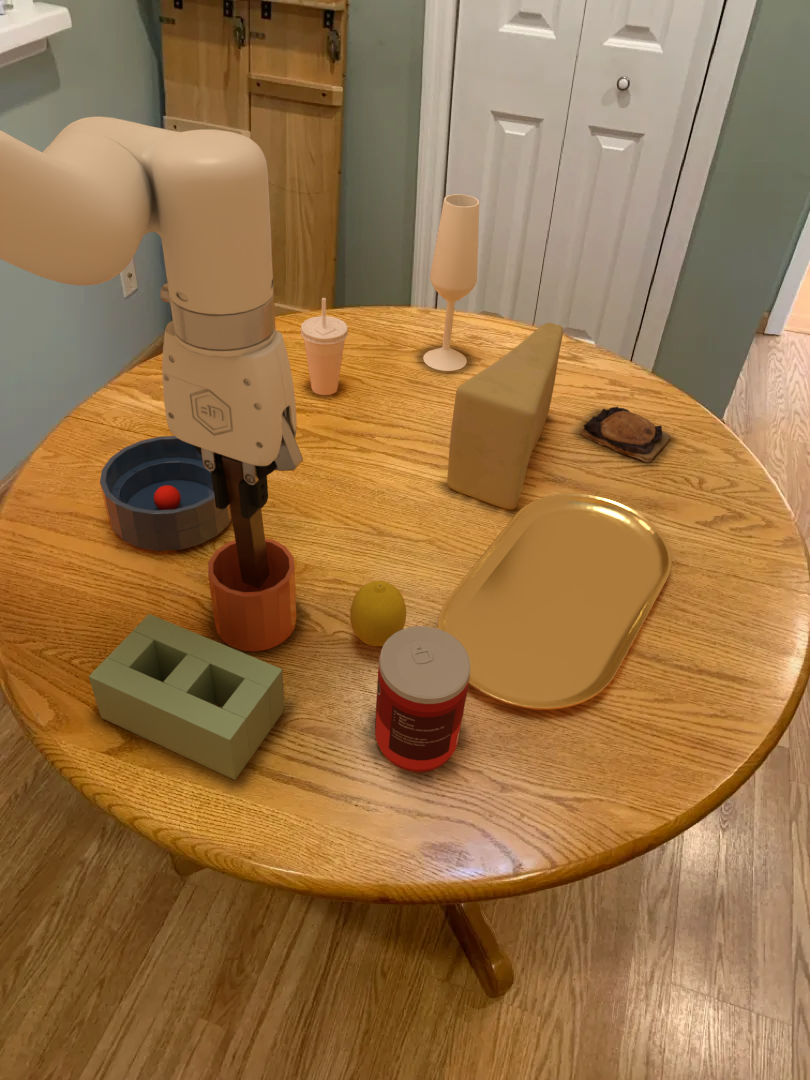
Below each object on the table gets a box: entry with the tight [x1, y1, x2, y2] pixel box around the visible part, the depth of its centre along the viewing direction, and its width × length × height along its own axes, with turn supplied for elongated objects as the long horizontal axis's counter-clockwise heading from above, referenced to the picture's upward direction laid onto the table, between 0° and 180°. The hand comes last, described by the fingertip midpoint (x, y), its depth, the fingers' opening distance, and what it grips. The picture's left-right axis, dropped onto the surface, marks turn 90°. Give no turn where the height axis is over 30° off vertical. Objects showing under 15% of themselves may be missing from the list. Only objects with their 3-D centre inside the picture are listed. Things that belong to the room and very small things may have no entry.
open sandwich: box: [579, 406, 671, 464], centre depth 115 cm, size 11×8×4 cm
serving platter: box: [437, 493, 673, 711], centre depth 92 cm, size 19×35×2 cm, turn 149°
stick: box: [222, 455, 270, 589], centre depth 77 cm, size 2×2×16 cm
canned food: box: [374, 625, 470, 773], centre depth 74 cm, size 8×8×11 cm
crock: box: [207, 537, 297, 652], centre depth 84 cm, size 8×8×8 cm
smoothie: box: [300, 297, 349, 396], centre depth 116 cm, size 6×6×14 cm
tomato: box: [154, 485, 181, 510], centre depth 97 cm, size 3×3×3 cm
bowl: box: [99, 435, 232, 552], centre depth 97 cm, size 14×14×6 cm
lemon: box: [349, 580, 407, 647], centre depth 83 cm, size 6×6×8 cm
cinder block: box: [88, 613, 286, 781], centre depth 76 cm, size 8×14×6 cm, turn 65°
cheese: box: [446, 322, 564, 510], centre depth 106 cm, size 22×10×15 cm, turn 152°
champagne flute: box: [422, 193, 480, 372], centre depth 121 cm, size 7×7×24 cm
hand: (241, 503), depth 75 cm, fingers closed on stick, 2 cm apart
